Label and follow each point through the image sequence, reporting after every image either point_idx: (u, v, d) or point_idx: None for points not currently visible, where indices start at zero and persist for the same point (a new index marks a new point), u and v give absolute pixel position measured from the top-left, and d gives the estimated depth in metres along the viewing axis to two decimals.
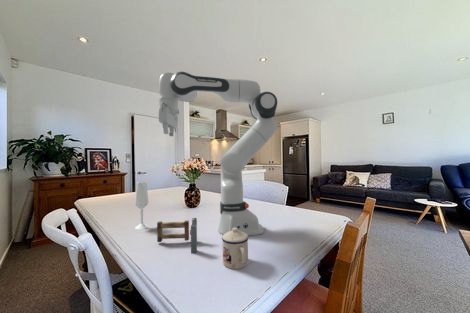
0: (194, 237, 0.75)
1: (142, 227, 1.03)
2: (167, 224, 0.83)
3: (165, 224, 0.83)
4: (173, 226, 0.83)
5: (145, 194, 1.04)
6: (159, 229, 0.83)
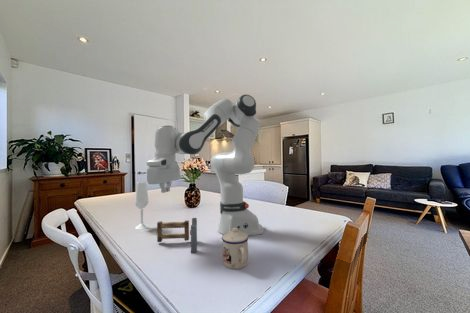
0: (194, 237, 0.75)
1: (142, 227, 1.03)
2: (167, 224, 0.83)
3: (165, 224, 0.83)
4: (173, 226, 0.83)
5: (145, 194, 1.04)
6: (159, 229, 0.83)
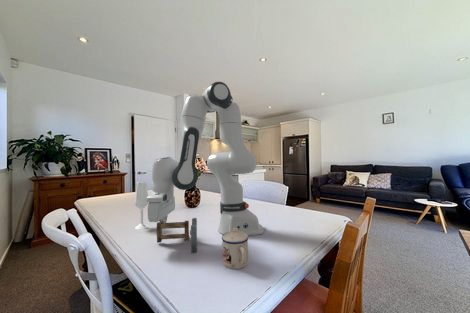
0: (194, 237, 0.75)
1: (142, 227, 1.03)
2: (167, 224, 0.83)
3: (165, 224, 0.83)
4: (173, 226, 0.83)
5: (145, 194, 1.04)
6: (159, 229, 0.83)
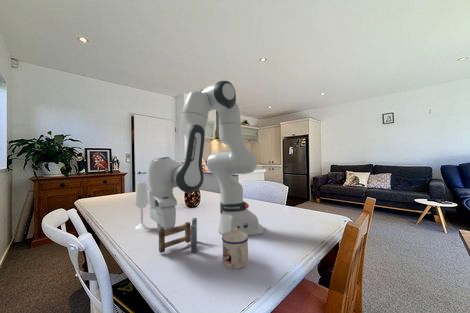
0: (194, 237, 0.75)
1: (142, 227, 1.03)
2: (171, 230, 0.76)
3: (169, 230, 0.76)
4: (177, 231, 0.78)
5: (145, 194, 1.04)
6: (163, 238, 0.74)
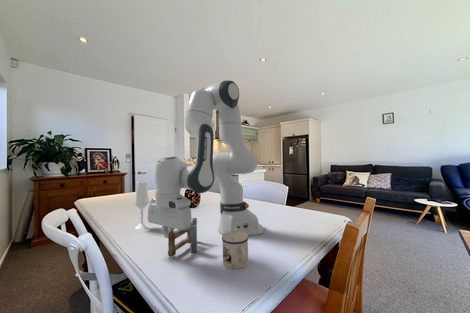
0: (194, 237, 0.75)
1: (142, 227, 1.03)
2: (179, 232, 0.74)
3: (177, 232, 0.73)
4: (183, 232, 0.76)
5: (145, 194, 1.04)
6: (173, 241, 0.71)
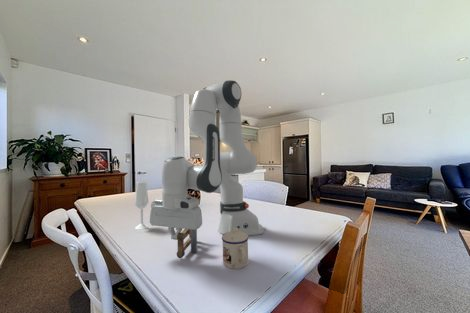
0: (194, 237, 0.75)
1: (142, 227, 1.03)
2: (186, 232, 0.74)
3: (185, 233, 0.73)
4: (188, 232, 0.76)
5: (145, 194, 1.04)
6: (182, 241, 0.70)
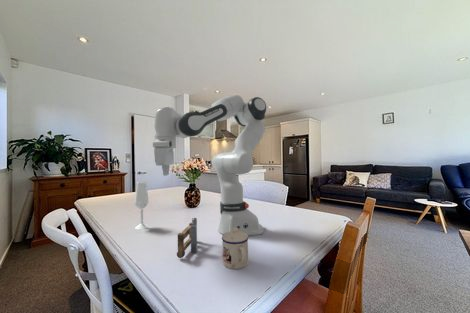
0: (194, 237, 0.75)
1: (142, 227, 1.03)
2: (186, 232, 0.74)
3: (185, 233, 0.73)
4: (188, 232, 0.76)
5: (145, 194, 1.04)
6: (183, 241, 0.70)
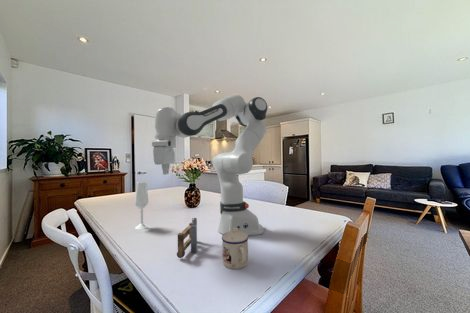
0: (194, 237, 0.75)
1: (142, 227, 1.03)
2: (186, 232, 0.74)
3: (185, 233, 0.73)
4: (188, 232, 0.76)
5: (145, 194, 1.04)
6: (183, 241, 0.70)
